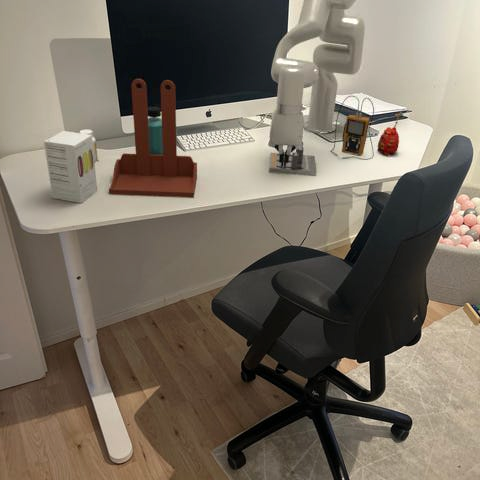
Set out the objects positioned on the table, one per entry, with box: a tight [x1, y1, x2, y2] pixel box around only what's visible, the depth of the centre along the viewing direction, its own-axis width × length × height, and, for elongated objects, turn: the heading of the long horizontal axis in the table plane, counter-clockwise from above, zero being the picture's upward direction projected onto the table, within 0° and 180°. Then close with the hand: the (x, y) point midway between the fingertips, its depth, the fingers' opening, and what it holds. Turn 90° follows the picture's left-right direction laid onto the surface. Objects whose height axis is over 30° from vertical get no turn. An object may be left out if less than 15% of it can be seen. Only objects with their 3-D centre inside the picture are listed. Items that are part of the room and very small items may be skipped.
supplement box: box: [43, 130, 98, 204], centre depth 142 cm, size 10×9×17 cm
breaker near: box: [291, 151, 299, 169], centre depth 164 cm, size 2×2×5 cm
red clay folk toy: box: [377, 110, 402, 157], centre depth 181 cm, size 8×7×15 cm
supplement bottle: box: [78, 129, 98, 163], centre depth 165 cm, size 5×5×10 cm
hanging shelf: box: [108, 78, 198, 199], centre depth 146 cm, size 24×13×30 cm, turn 90°
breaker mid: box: [297, 146, 304, 163], centre depth 168 cm, size 2×2×5 cm
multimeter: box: [330, 95, 375, 161], centre depth 175 cm, size 15×10×20 cm
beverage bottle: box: [147, 106, 163, 155], centre depth 158 cm, size 6×7×20 cm
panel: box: [268, 152, 318, 177], centre depth 170 cm, size 13×15×2 cm
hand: (283, 164), depth 165 cm, fingers closed
